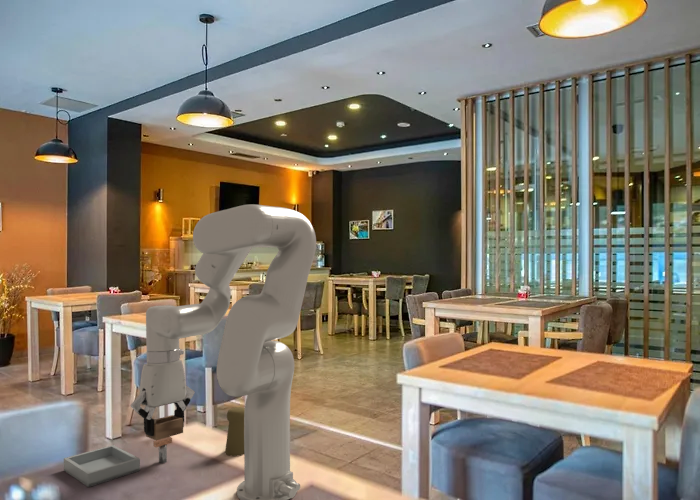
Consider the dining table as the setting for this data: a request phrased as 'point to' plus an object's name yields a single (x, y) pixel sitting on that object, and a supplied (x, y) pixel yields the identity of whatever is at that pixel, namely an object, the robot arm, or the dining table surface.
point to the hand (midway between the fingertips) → (164, 430)
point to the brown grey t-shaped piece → (162, 448)
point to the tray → (101, 465)
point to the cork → (235, 431)
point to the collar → (167, 427)
